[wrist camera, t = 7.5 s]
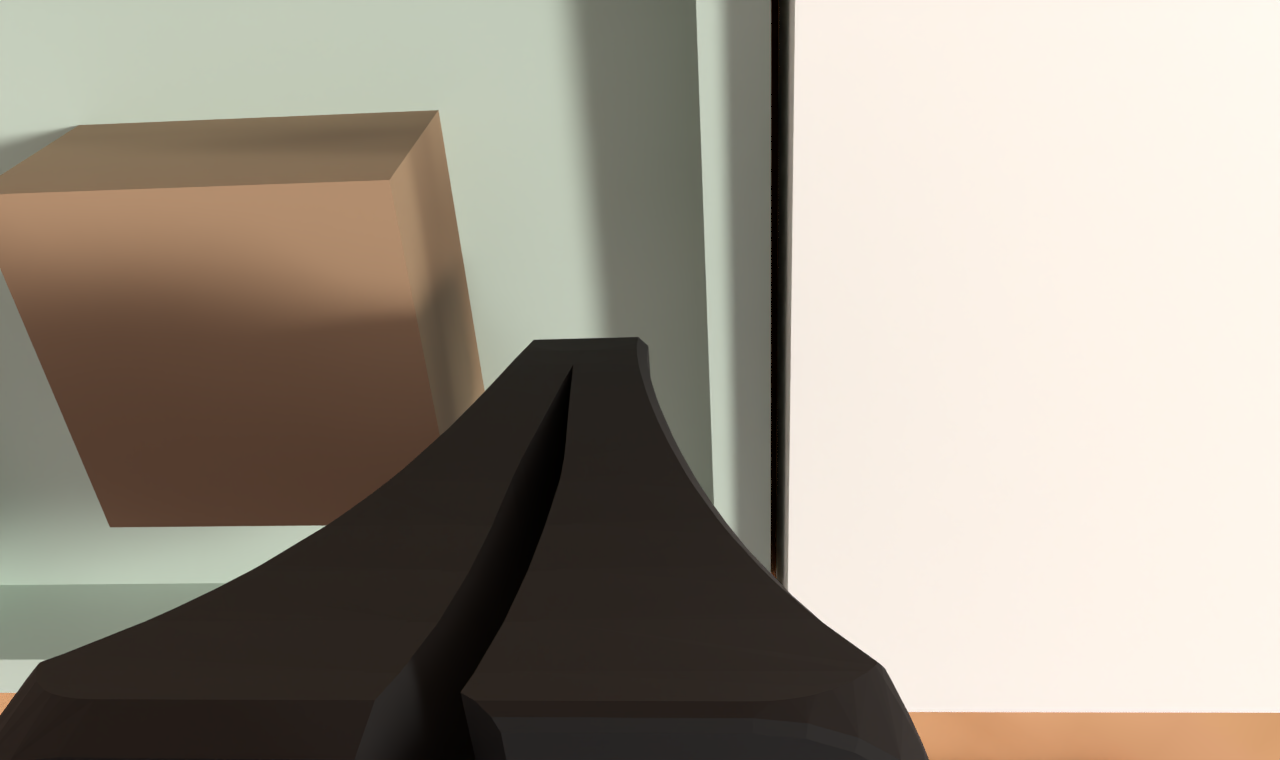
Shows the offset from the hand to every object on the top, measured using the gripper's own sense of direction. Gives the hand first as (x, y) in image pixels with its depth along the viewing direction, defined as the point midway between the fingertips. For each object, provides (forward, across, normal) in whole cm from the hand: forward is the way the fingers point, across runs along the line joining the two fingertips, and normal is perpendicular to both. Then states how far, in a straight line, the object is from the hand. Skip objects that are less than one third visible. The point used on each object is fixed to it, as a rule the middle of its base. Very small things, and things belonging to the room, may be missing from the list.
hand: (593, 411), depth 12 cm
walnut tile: (+2, +5, 0) cm, 5 cm away
